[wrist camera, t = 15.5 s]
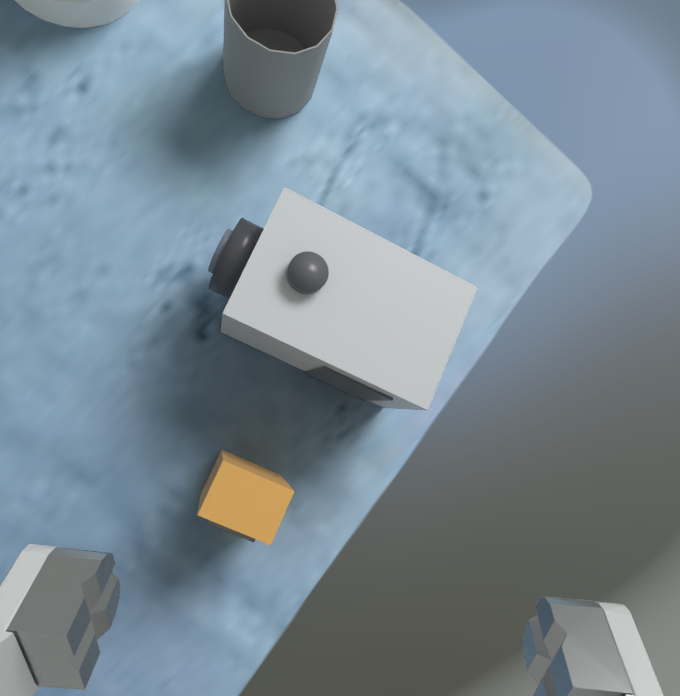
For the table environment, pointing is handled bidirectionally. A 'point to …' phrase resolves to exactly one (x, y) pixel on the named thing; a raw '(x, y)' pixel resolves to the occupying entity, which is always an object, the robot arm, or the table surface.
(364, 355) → the camera housing
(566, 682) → the robot arm
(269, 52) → the cup
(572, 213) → the table surface
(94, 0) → the honey pot
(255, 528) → the tan box with label
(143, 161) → the table surface
